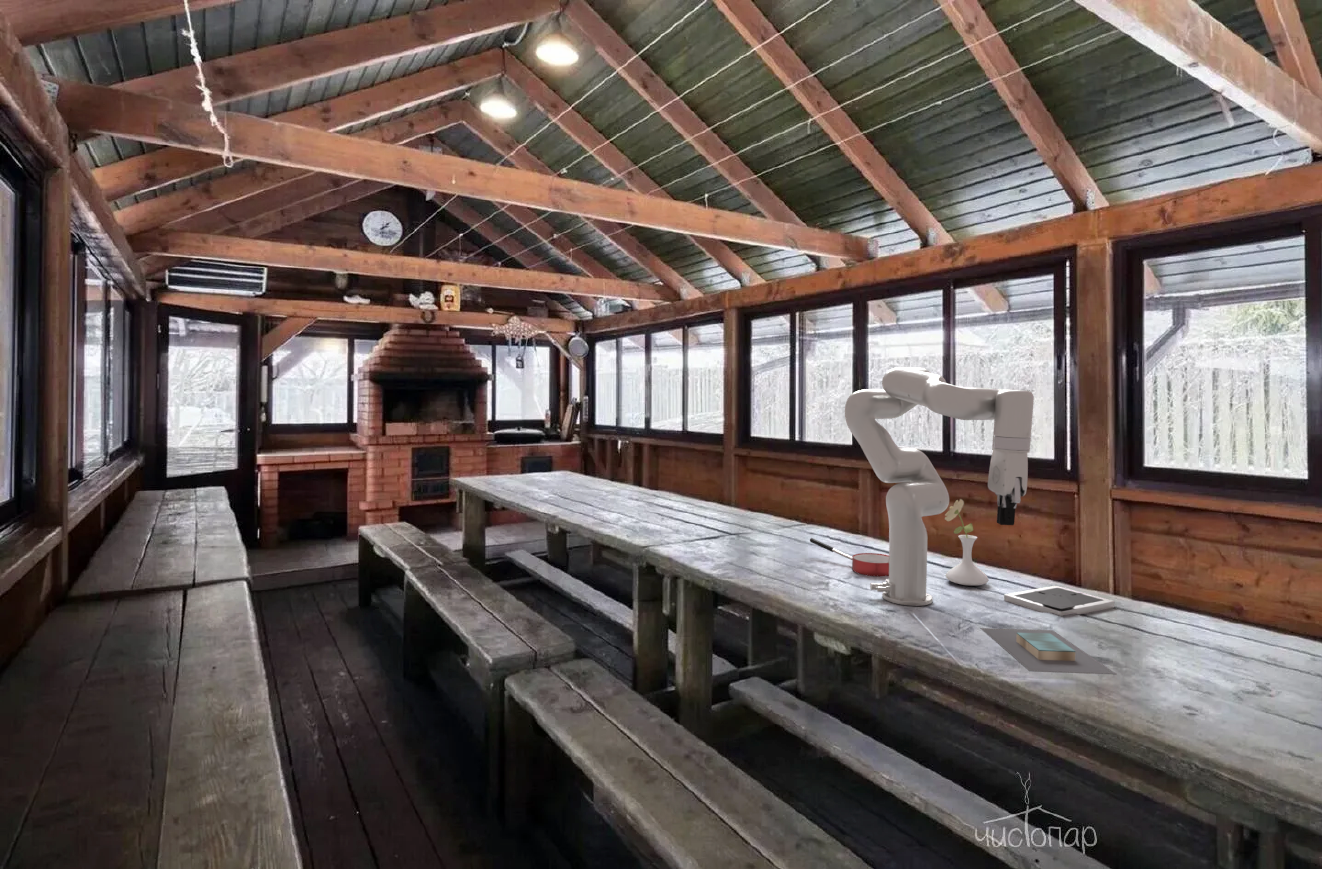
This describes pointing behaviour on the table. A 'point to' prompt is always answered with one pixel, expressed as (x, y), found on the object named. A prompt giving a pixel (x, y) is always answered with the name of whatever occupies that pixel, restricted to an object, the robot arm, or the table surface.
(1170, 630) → the table surface
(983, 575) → the flower in vase
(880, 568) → the frying pan
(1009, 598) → the picture frame
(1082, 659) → the rubber mat
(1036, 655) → the tile
